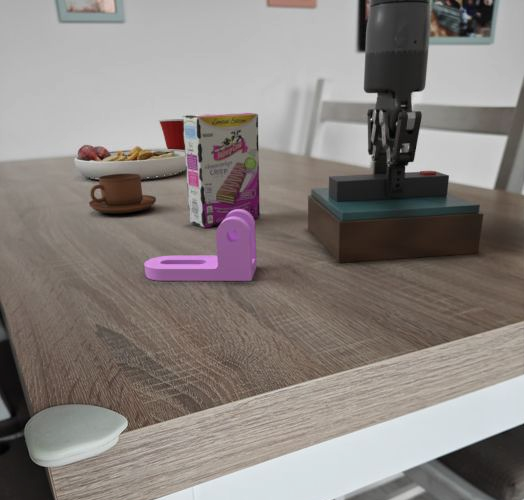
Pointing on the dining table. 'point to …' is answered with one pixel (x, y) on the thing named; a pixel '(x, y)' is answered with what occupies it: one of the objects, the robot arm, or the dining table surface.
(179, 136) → the plastic cup
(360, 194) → the remote
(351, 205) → the footstool
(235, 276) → the bracket
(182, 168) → the bowl
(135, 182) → the cup and saucer
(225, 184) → the candy bar box
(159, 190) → the dining table surface
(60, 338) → the dining table surface
